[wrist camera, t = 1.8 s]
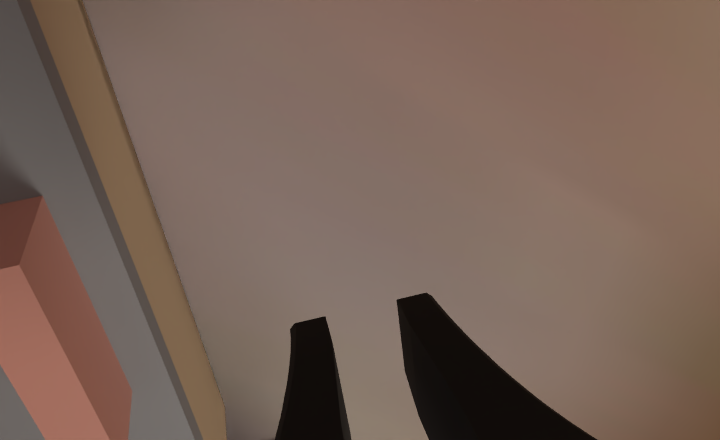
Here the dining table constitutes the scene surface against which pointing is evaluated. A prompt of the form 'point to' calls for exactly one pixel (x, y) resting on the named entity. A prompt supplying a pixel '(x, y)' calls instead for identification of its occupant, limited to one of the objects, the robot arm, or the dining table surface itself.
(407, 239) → the dining table surface
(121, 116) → the mailer box
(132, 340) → the mailer lid
